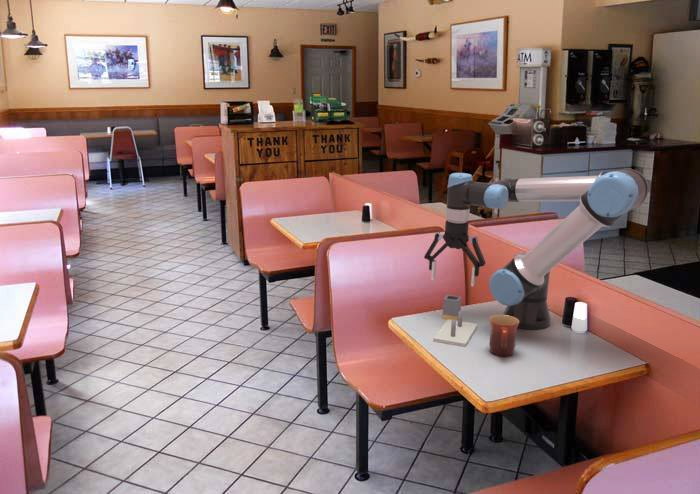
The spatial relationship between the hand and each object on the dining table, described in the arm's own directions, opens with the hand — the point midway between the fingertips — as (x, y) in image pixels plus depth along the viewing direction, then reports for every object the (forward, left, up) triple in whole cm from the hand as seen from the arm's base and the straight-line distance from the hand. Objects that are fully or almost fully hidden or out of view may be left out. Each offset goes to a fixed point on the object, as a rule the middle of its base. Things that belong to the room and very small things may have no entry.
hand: (452, 282), depth 213 cm
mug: (-21, +24, -13) cm, 34 cm away
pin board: (-5, +14, -12) cm, 19 cm away
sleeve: (0, 0, -12) cm, 12 cm away
